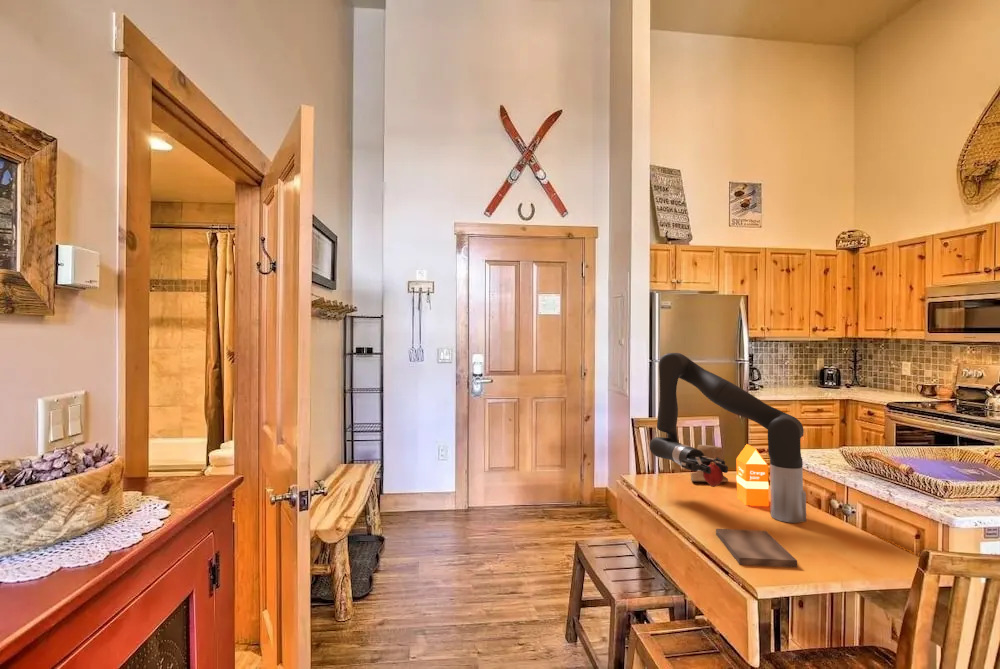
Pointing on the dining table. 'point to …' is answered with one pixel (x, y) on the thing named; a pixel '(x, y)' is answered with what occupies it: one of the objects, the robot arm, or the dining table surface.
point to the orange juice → (752, 478)
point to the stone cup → (710, 453)
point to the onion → (714, 475)
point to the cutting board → (755, 548)
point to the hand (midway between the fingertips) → (718, 470)
